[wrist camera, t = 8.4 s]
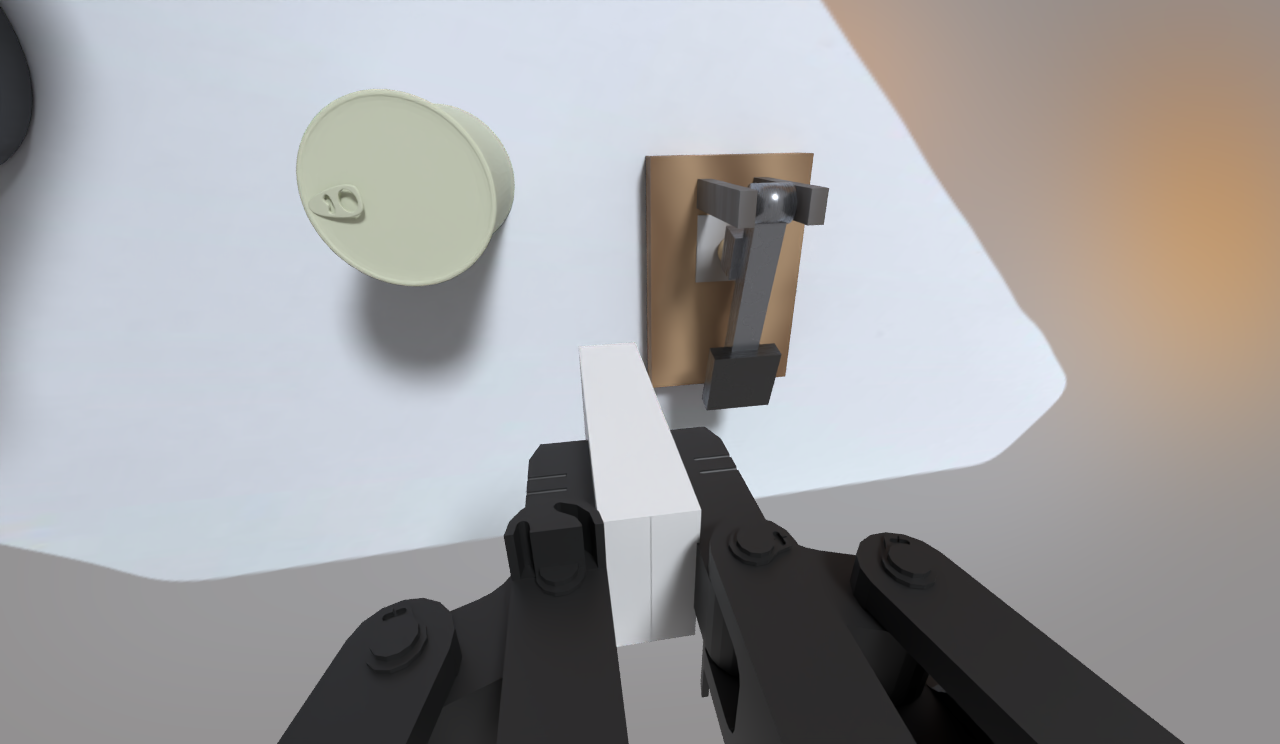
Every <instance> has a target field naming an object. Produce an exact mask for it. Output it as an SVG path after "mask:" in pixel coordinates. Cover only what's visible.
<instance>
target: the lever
mask: <svg viewBox="0 0 1280 744" xmlns="http://www.w3.org/2000/svg"><path fill="white" fill-rule="evenodd" d="M747 188H751V189H755V190H758V194H757V205H756V217H755V228H736V227H734V226H732V225H731V226H726V230H725V237H724V244H723V251H722V258H721V265H720V266H721V268H722V270H723V271H724V273H725V275H726V277H727V278H728V280H735V285H734V291H733V297H732V303H731V309H730V315H729V320H728V326H727V332H726V338H725V344H724V347H717V348H709V355H708V362H707V369H706V376H705V382H704V389H703V396H702V399H703V402H704V404H705V407H706V410H716V409H726V408H737V407H747V406H758V405H768V403H769V400H770V396H771V392H772V388H773V385H774V381H775V377H776V374H777V370H778V366H779V362H780V359H781V355H782V354H781V353H780V351H779V350H778V348H777V346H776V345H775V343H770V344H759V343H760V339H761V334H762V330H763V326H764V321H765V317H766V312H767V308H768V304H769V299H770V295H771V291H772V286H773V282H774V277H775V273H776V269H777V264H778V260H779V255H780V251H781V247H782V242H783V238H784V234H785V229H786V225H787V224H789V223H791V221H792V220H793V218H794V216H795V213H796V209H797V191H796V188H795V186H794V184H793V183H792V182H776V183H750V184H749V185H748V186H747Z"/></svg>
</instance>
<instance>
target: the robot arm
mask: <svg viewBox="0 0 1280 744" xmlns="http://www.w3.org/2000/svg"><path fill="white" fill-rule="evenodd" d="M31 112H32V88H31V81H30V76H29V71H28V67H27V63H26V60H25V57H24V54H23V51H22V49H21V46H20V44H19V41H18V39H17V37H16V34H15V32H14V30H13V28H12V27H11V25H10V23H9V21H8V19H7V17H6V16H5V14H4V12H3V10H2V9H1V7H0V165H1V164H2V163H3V162H5V161H6V160H7V159H8V158H9V157H11V156H12V154H13V153H14V152H15V151H16V150H17V148H18V147H19V146H20V144H21V143H22V141H23V139H24V137H25V135H26V132H27V129H28V126H29V123H30V119H31ZM579 357H580V370H581V383H582V397H583V410H584V423H585V436H586V440H581V441H571V442H561V443H551V444H541V445H540V446H539V447H538V449H537V450H536V451H535V453H534V454H533V455H532V457H531V458H530V460H529V467H528V481H527V496H526V504H525V508H524V509H522V510H520V511H519V513H518V514H517V515H516V516H515V517H514V518H513V519H512V520H511V521H510V522H509V524H508V526H507V529H506V532H505V534H504V539H505V545H506V551H507V556H508V562H509V567H510V573H511V576H510V577H509V578H508V579H507V581H506V582H505V583H504V584H503V585H501V586H500V587H499V588H497V589H496V590H495V591H493V592H492V593H490V594H488V595H487V596H484V597H482V598H481V599H479V600H477V601H474V602H472V603H469V604H467V605H464V606H462V607H460V608H457V609H455V610H452V611H449V610H447V608H445V607H444V606H443V605H442V604H441V603H440V602H437V601H433V600H429V599H425V598H419V599H409V600H403V601H400V602H398V603H395V604H393V605H390V606H388V607H385V608H382V609H381V610H379V611H378V612H377V613H375V614H374V615H372V616H371V617H369V618H368V619H367V620H365V621H364V622H362V623H361V625H360V626H359V627H358V628H357V629H356V630H355V631H354V633H353V634H352V635H351V636H350V637H349V638H348V639H347V640H346V642H345V644H344V645H343V646H342V648H341V650H340V651H339V652H338V654H337V655H336V657H335V658H334V660H333V661H332V663H331V664H330V666H329V667H328V669H327V670H326V672H325V673H324V675H323V676H322V678H321V679H320V681H319V682H318V684H317V685H316V687H315V688H314V690H313V691H312V693H311V694H310V695H309V697H308V699H307V700H306V701H305V703H304V705H303V706H302V707H301V709H300V711H299V712H298V713H297V715H296V716H295V718H294V719H293V721H292V722H291V724H290V725H289V727H288V728H287V730H286V731H285V733H284V734H283V736H282V737H281V739H280V740H279V742H278V743H277V744H629V743H628V736H627V727H626V719H625V711H624V703H623V695H622V687H621V679H620V671H619V663H618V655H617V647H619V646H625V645H632V644H638V643H645V642H651V641H657V640H664V639H670V638H676V637H682V636H689V635H695V622H696V617H697V620H698V623H699V627H700V630H701V634H702V637H703V655H702V670H701V695H702V697H707V696H708V694H709V689H710V693H711V696H712V700H713V703H714V707H715V710H716V714H717V718H718V721H719V725H720V729H721V732H722V736H723V739H724V743H725V744H1184V743H1183V742H1182V741H1181V740H1179V739H1178V738H1177V737H1175V736H1174V735H1173V734H1172V733H1170V732H1169V731H1168V730H1166V729H1165V728H1164V727H1163V726H1161V725H1160V724H1159V723H1158V722H1156V721H1155V720H1154V719H1152V718H1151V717H1150V716H1149V715H1147V714H1146V713H1145V712H1143V711H1142V710H1141V709H1140V708H1138V707H1137V706H1136V705H1135V704H1133V703H1132V702H1131V701H1129V700H1128V699H1127V698H1126V697H1124V696H1123V695H1122V694H1121V693H1119V692H1118V691H1117V690H1116V689H1114V688H1113V687H1112V686H1110V685H1109V684H1108V683H1107V682H1105V681H1104V680H1102V679H1101V678H1100V677H1099V676H1098V675H1096V674H1095V673H1094V672H1093V671H1091V670H1090V669H1089V668H1087V667H1086V666H1085V665H1083V664H1082V663H1081V662H1080V661H1079V660H1077V659H1076V658H1075V657H1073V656H1072V655H1071V654H1069V653H1068V652H1067V651H1066V650H1065V649H1063V648H1062V647H1061V646H1059V645H1058V644H1057V643H1056V642H1054V641H1053V640H1052V639H1051V638H1049V637H1048V636H1047V635H1045V634H1044V633H1043V632H1041V631H1040V630H1039V629H1038V628H1036V627H1035V626H1034V625H1033V624H1031V623H1030V622H1029V621H1028V620H1026V619H1025V618H1024V617H1022V616H1021V615H1020V614H1019V613H1017V612H1016V611H1014V609H1012V608H1011V607H1010V606H1008V605H1007V604H1006V603H1005V602H1003V601H1002V600H1001V599H1000V598H998V597H997V596H996V595H994V594H993V593H992V592H990V591H989V590H988V589H987V588H986V587H984V586H983V585H982V584H980V583H979V582H978V581H977V580H975V579H974V578H972V577H971V576H970V575H969V574H968V573H966V572H965V571H964V570H963V569H961V568H960V567H959V566H957V565H956V564H955V563H954V562H952V561H951V560H950V559H948V558H947V557H946V556H945V555H943V554H942V553H941V552H939V551H938V550H936V549H934V548H933V547H931V546H929V545H928V544H926V543H925V542H923V541H920V540H918V539H915V538H912V537H909V536H906V535H903V534H895V533H886V532H885V533H879V534H873V535H870V536H868V537H867V538H866V539H864V540H863V541H861V542H860V545H859V548H858V550H857V553H856V555H850V554H842V553H835V552H827V551H819V550H815V549H810V548H805V547H803V546H800V545H798V544H797V542H796V541H795V540H794V538H793V537H792V536H791V535H790V534H789V533H788V532H787V531H786V530H785V529H783V528H782V527H780V526H778V525H777V524H775V523H773V522H772V521H768V520H766V519H765V518H764V516H763V514H762V512H761V510H760V509H759V507H758V505H757V503H756V501H755V500H754V498H753V496H752V494H751V492H750V491H749V489H748V487H747V485H746V483H745V481H744V480H743V478H742V476H741V474H740V472H739V471H738V470H737V469H736V465H735V463H734V462H733V460H732V458H731V457H730V456H729V453H728V451H727V449H726V447H725V445H724V443H723V442H722V440H721V439H720V438H719V437H718V436H716V435H715V434H714V433H712V432H711V431H710V430H708V429H707V428H706V427H696V428H686V429H676V430H670V429H669V427H668V424H667V422H666V419H665V417H664V414H663V411H662V409H661V406H660V404H659V401H658V399H657V396H656V394H655V391H654V389H653V386H652V384H651V381H650V378H649V376H648V373H647V371H646V368H645V366H644V363H643V361H642V358H641V356H640V353H639V351H638V348H637V345H636V343H635V342H632V343H618V344H605V345H591V346H579Z"/></svg>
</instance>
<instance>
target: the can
mask: <svg viewBox="0 0 1280 744" xmlns="http://www.w3.org/2000/svg"><path fill="white" fill-rule="evenodd" d="M296 174H297V184H298V190H299V194H300V198H301V201H302V204H303V207H304V210H305V212H306V214H307V216H308V218H309V220H310V222H311V224H312V225H313V227H314V228H315V230H316V232H317V233H318V234H319V236H320V237H321V238H322V240H323V241H324V242H325V243H326V244H327V245H328V246H329V248H330V249H331V250H332V251H333V252H334V253H335V254H336V255H338V256H339V257H340V258H341V259H343V260H344V261H345V262H346V263H348V264H349V265H350V266H352V267H354V268H355V269H357V270H359V271H360V272H362V273H364V274H366V275H368V276H370V277H372V278H375V279H378V280H381V281H384V282H387V283H391V284H396V285H402V286H427V285H433V284H438V283H441V282H445V281H447V280H450V279H452V278H454V277H456V276H458V275H460V274H461V273H463V272H464V271H466V270H467V269H468V268H470V267H471V266H472V265H473V264H474V263H475V262H476V261H477V260H478V258H479V257H480V256H481V255H482V253H483V252H484V250H485V249H486V247H487V245H488V243H489V241H490V239H491V237H492V234H493V233H494V232H495V231H496V230H497V229H498V228H499V227H500V226H501V225H502V223H503V222H504V221H505V219H506V217H507V215H508V214H509V211H510V209H511V206H512V202H513V198H514V186H515V184H514V174H513V169H512V165H511V162H510V159H509V156H508V154H507V152H506V150H505V148H504V146H503V145H502V143H501V141H500V140H499V139H498V137H497V136H496V135H495V134H494V132H493V131H492V130H491V129H490V128H489V127H488V126H487V125H486V124H484V123H483V122H482V121H481V120H479V119H478V118H477V117H475V116H473V115H472V114H470V113H468V112H466V111H464V110H462V109H459V108H456V107H453V106H449V105H444V104H432V103H431V102H429V101H427V100H425V99H422V98H420V97H417V96H415V95H412V94H408V93H405V92H401V91H395V90H388V89H370V90H362V91H357V92H354V93H350V94H347V95H345V96H342V97H340V98H338V99H336V100H334V101H333V102H331V103H330V104H328V105H327V106H326V107H324V108H323V109H322V110H321V111H320V112H319V113H318V114H317V115H316V116H315V117H314V118H313V120H312V121H311V123H310V124H309V126H308V127H307V129H306V131H305V133H304V135H303V137H302V140H301V143H300V146H299V150H298V155H297V165H296Z"/></svg>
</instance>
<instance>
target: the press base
mask: <svg viewBox="0 0 1280 744" xmlns="http://www.w3.org/2000/svg"><path fill="white" fill-rule="evenodd" d="M813 155H814V153H766V154H719V155H672V156H646V240H647V356H648V376H649V378H650V381H651V384H652V386H653V388H655V387H667V386H679V385H690V384H702V383H704V382H705V376H706V369H707V362H708V355H709V348H717V347H724V344H725V338H726V332H727V326H728V320H729V315H730V309H731V303H732V297H733V291H734V285H735V280H728V278H727V277H726V275H725V273H724V271H723V270H722V268H721V266H720V265H721V258H722V251H723V244H724V237H725V230H726V226H731V225H732V226H734V227H736V228H755V217H756V205H757V194H758V190H755V189H751V188H747V186H748V185H749V184H750V183H776V182H792V183H793V184H794V186H795V188H796V191H797V209H796V213H795V216H794V218H793V220H792V221H791V223H789V224H787V225H786V229H785V234H784V238H783V242H782V247H781V251H780V255H779V260H778V264H777V269H776V273H775V277H774V282H773V286H772V291H771V295H770V299H769V304H768V308H767V312H766V317H765V321H764V326H763V330H762V334H761V339H760V343H759V344H770V343H775V345H776V346H777V348H778V350H779V351H780V353H781V354H782V355H781V359H780V362H779V366H778V370H777V374H776V377H783V376H785V373H786V366H787V358H788V350H789V342H790V334H791V327H792V319H793V311H794V303H795V296H796V288H797V280H798V272H799V264H800V257H801V249H802V241H803V233H804V225H824V219H825V212H826V205H827V198H828V192H829V188H826V187H821V186H815V185H810V179H811V171H812V163H813Z"/></svg>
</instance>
